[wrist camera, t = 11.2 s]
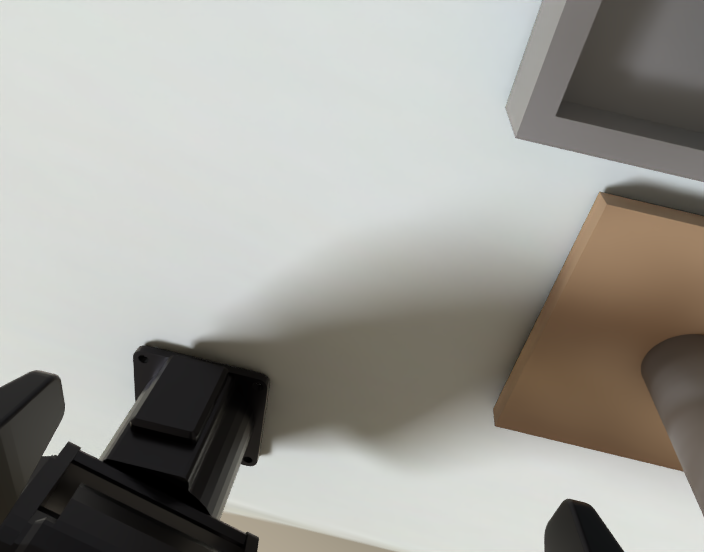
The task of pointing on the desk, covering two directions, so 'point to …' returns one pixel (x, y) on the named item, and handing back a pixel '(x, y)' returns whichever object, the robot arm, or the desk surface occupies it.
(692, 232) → the stake
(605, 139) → the tray
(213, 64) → the desk surface
